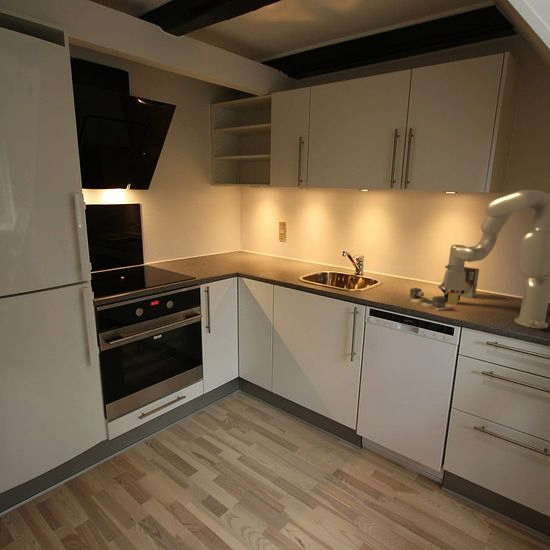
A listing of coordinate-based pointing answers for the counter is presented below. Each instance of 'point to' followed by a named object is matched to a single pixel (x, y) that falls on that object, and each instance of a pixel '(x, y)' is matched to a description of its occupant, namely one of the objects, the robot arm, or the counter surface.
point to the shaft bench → (428, 300)
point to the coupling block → (452, 297)
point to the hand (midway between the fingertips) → (451, 301)
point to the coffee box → (470, 281)
